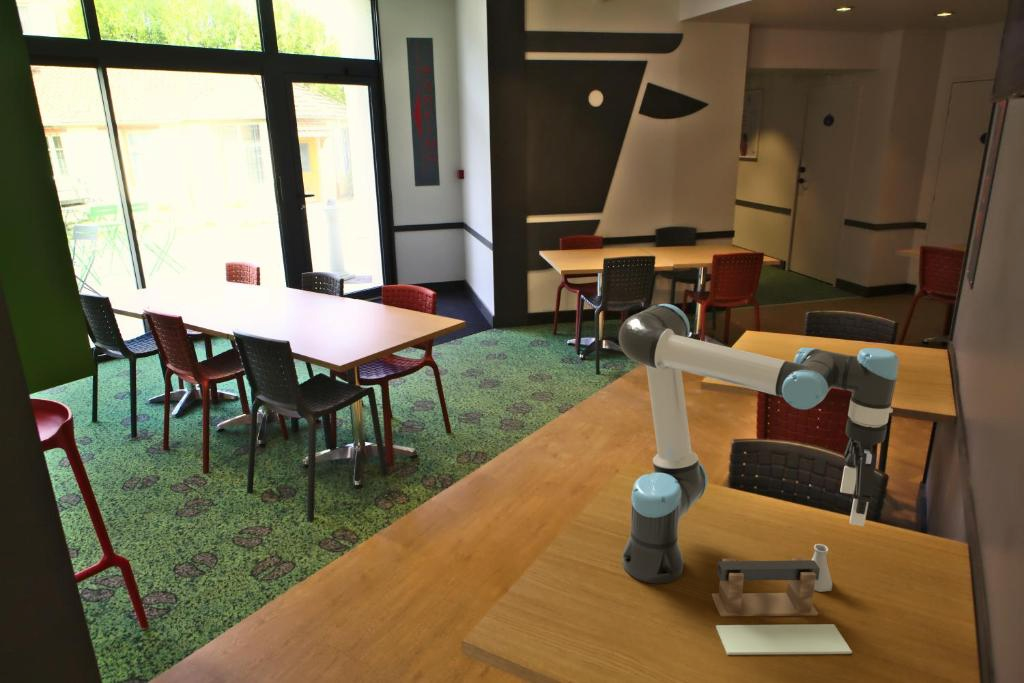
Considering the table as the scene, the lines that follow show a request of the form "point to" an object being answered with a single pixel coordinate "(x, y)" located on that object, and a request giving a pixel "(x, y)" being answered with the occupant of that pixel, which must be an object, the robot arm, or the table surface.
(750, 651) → the mat
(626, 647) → the table surface
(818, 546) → the flask
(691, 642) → the table surface
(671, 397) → the robot arm
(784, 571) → the rail
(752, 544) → the table surface
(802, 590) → the rack
